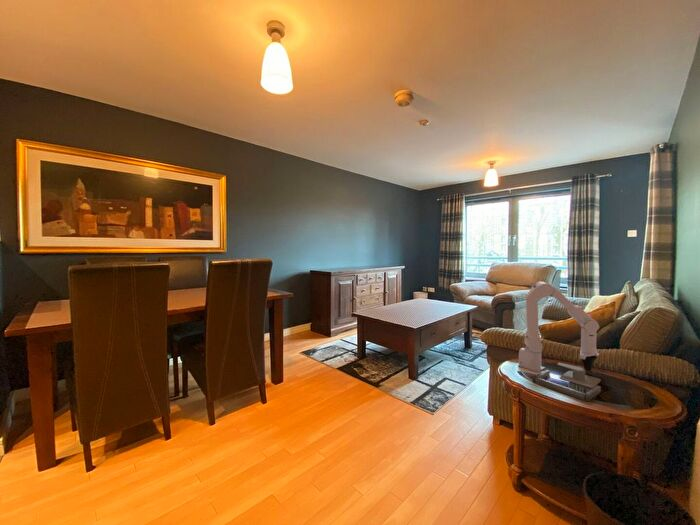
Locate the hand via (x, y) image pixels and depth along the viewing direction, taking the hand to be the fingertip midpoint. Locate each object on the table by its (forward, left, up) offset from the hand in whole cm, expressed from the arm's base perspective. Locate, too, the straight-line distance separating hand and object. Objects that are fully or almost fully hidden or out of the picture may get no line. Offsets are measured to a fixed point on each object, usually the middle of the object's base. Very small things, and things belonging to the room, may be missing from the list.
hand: (587, 370), depth 140 cm
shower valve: (-1, -11, -2) cm, 11 cm away
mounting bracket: (0, -23, -1) cm, 24 cm away
